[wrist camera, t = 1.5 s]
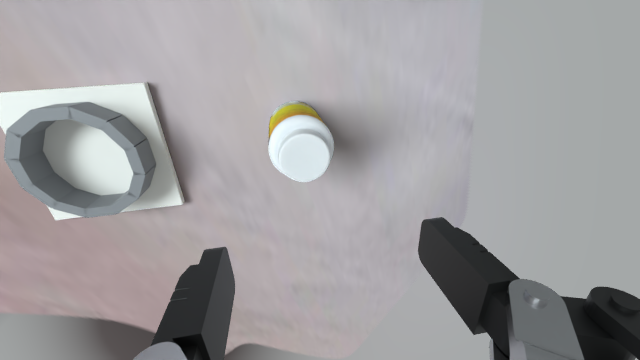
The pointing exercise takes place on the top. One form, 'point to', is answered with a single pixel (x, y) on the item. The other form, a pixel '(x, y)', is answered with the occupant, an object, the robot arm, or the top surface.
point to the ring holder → (89, 149)
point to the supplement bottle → (299, 142)
